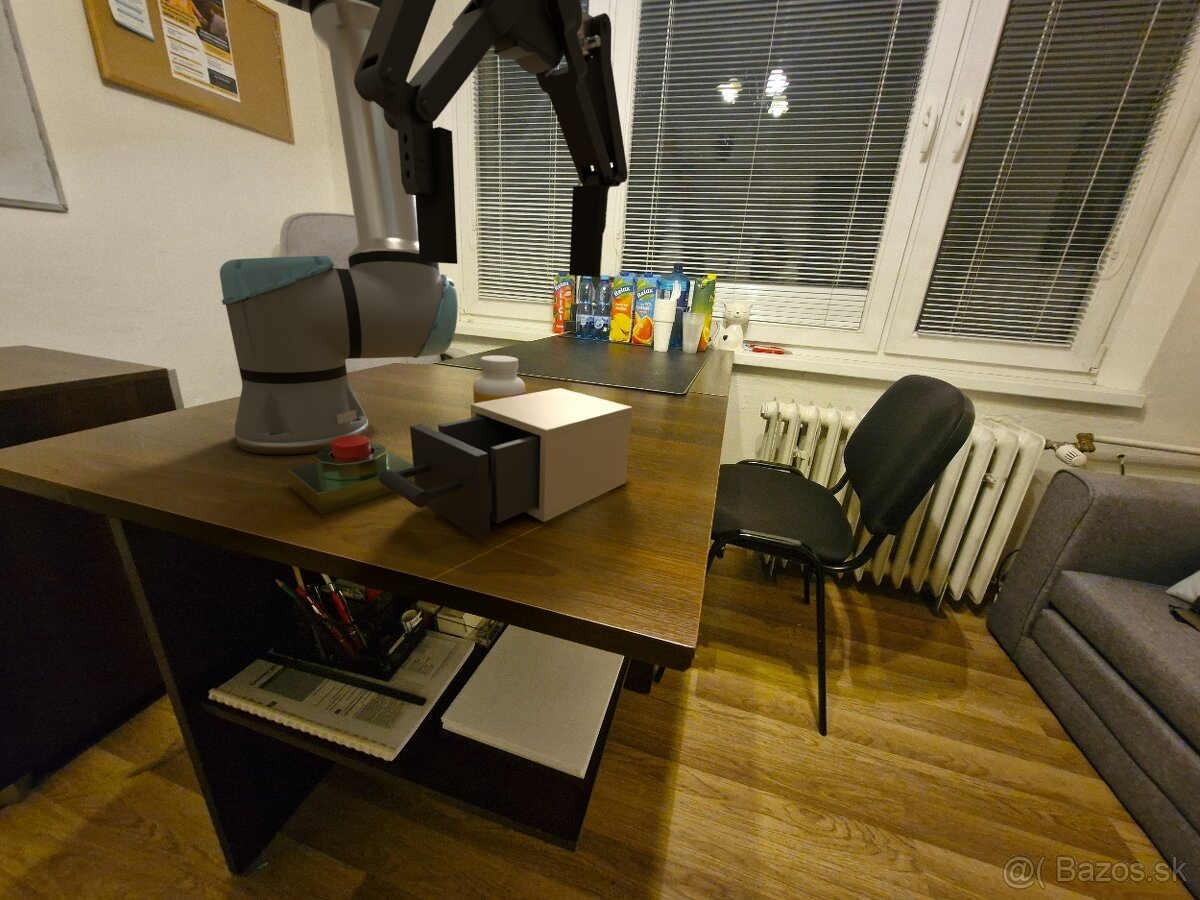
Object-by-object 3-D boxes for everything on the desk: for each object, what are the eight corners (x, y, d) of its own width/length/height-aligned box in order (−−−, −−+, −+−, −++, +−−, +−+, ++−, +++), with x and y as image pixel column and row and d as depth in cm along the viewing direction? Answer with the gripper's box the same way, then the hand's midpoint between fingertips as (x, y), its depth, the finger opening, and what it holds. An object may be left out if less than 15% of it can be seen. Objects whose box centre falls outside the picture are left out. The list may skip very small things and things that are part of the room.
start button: (327, 455, 46) (325, 439, 46) (362, 447, 49) (360, 432, 48) (342, 464, 44) (339, 448, 44) (377, 456, 47) (376, 440, 46)
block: (291, 487, 47) (284, 452, 45) (384, 464, 54) (381, 433, 53) (321, 514, 42) (314, 476, 41) (419, 484, 49) (416, 451, 48)
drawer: (433, 560, 35) (426, 470, 32) (372, 514, 41) (362, 435, 38) (576, 495, 47) (579, 427, 44) (513, 467, 53) (512, 405, 51)
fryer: (544, 522, 43) (546, 430, 40) (473, 485, 50) (470, 403, 47) (625, 483, 53) (632, 406, 50) (557, 456, 60) (559, 387, 57)
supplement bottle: (514, 464, 56) (513, 364, 52) (466, 457, 57) (462, 359, 53) (531, 447, 63) (533, 357, 58) (488, 441, 64) (486, 352, 59)
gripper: (288, -584, 12) (374, 254, 20) (694, -39, 31) (658, 282, 38) (208, -374, 16) (304, 251, 24) (609, -6, 35) (591, 277, 43)
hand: (523, 271), depth 31 cm, fingers open, 13 cm apart
